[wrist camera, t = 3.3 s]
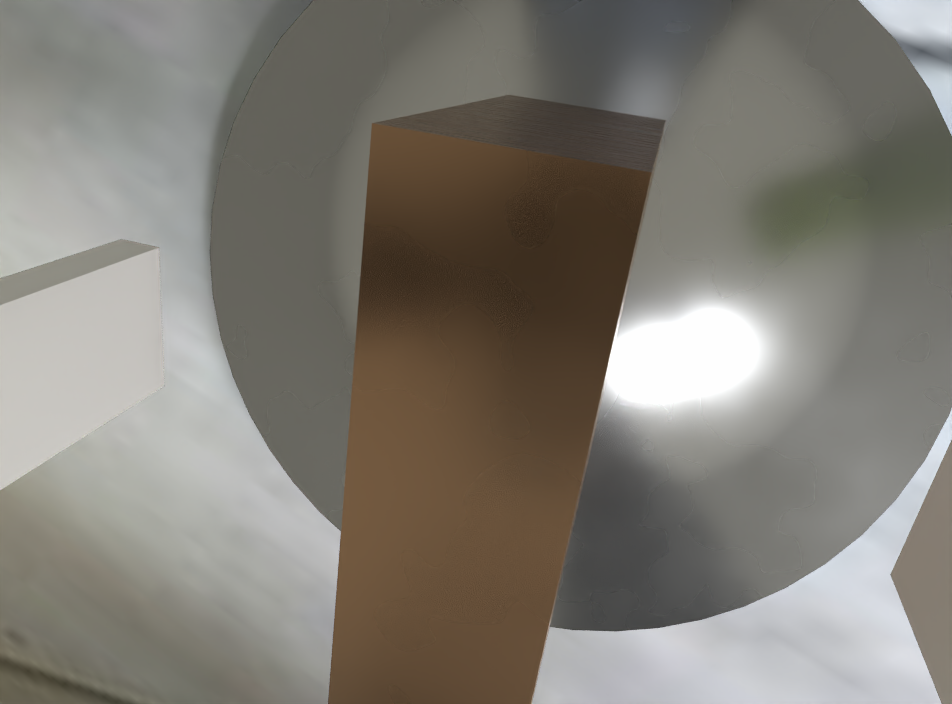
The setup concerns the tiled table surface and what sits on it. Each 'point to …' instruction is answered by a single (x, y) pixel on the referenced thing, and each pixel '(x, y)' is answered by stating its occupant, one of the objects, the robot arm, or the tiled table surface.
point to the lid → (581, 311)
